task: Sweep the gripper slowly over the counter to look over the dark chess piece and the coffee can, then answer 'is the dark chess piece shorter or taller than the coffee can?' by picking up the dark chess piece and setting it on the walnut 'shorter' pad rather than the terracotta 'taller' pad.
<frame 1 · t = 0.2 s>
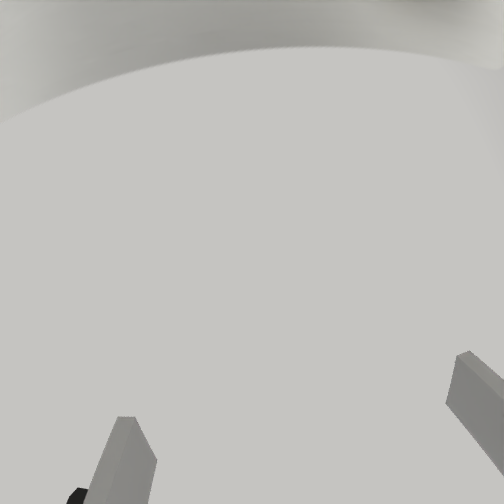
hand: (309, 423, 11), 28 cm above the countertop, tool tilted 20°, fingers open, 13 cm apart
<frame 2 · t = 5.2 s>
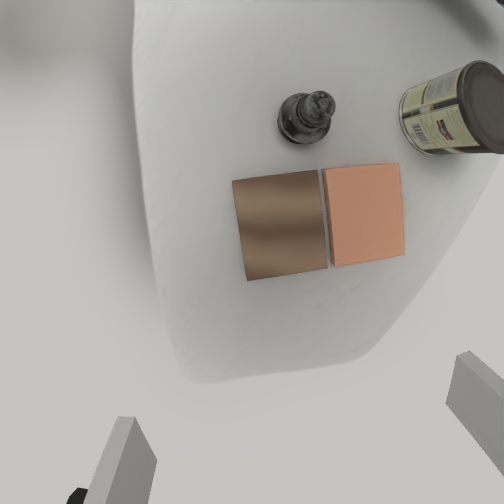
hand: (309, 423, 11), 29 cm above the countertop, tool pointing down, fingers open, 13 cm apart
dark chess piece: (298, 123, 36), on the countertop
shorter pad: (280, 224, 38), on the countertop
coffee can: (427, 119, 36), on the countertop
taller pad: (364, 212, 38), on the countertop
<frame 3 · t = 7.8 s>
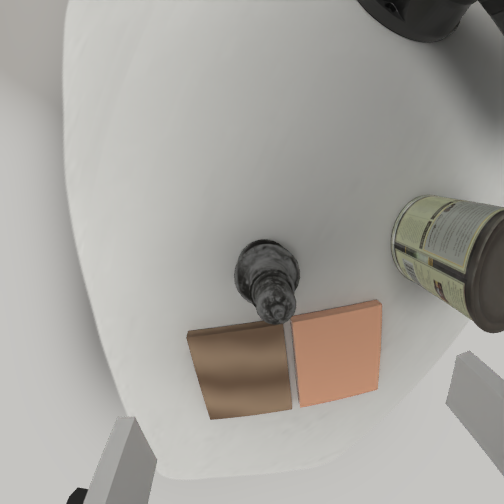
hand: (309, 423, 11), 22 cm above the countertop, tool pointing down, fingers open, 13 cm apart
dark chess piece: (263, 265, 32), on the countertop
shorter pad: (242, 370, 34), on the countertop
coffee can: (426, 238, 32), on the countertop
taller pad: (336, 353, 34), on the countertop
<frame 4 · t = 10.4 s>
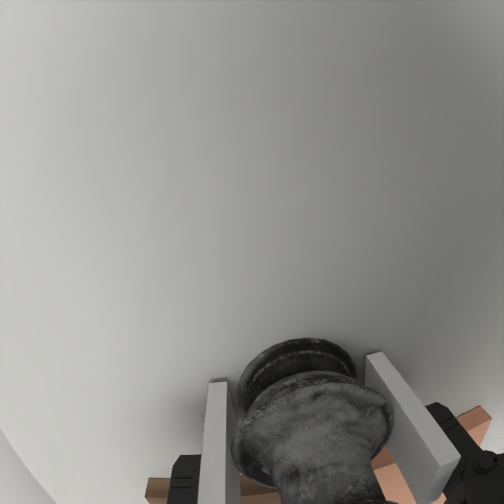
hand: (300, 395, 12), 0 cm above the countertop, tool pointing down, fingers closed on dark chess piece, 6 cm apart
dark chess piece: (298, 387, 13), on the countertop, touching gripper
taller pad: (402, 483, 16), on the countertop
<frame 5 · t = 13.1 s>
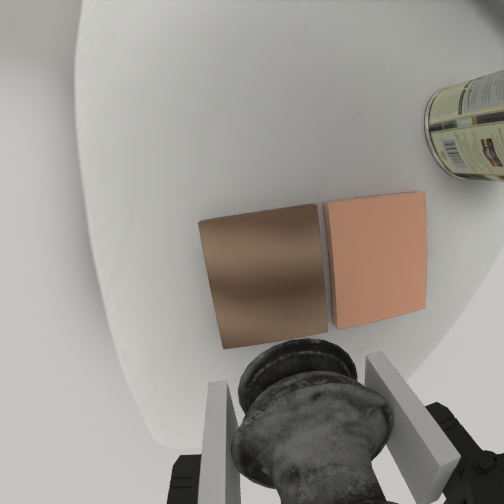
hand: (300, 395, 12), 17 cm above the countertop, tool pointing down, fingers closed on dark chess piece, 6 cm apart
dark chess piece: (298, 387, 13), point 16 cm above the countertop, touching gripper
shorter pad: (266, 276, 29), on the countertop
coffee can: (458, 132, 27), on the countertop
taller pad: (377, 257, 29), on the countertop
when the fingers open (3 cm above the countertop, at t = 15.9 s): dark chess piece drops 1 cm, resting on shorter pad.
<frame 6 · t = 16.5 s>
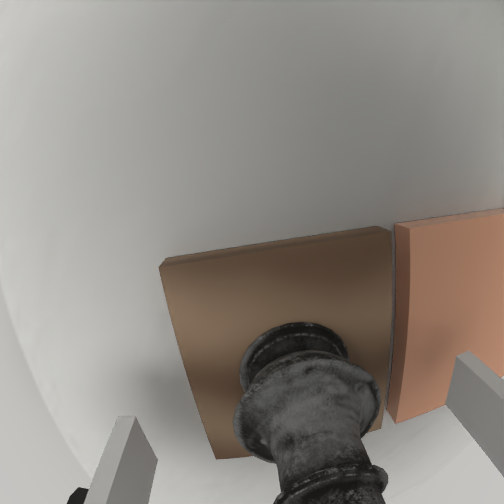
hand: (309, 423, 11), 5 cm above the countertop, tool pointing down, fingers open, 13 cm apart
dark chess piece: (294, 368, 14), point 1 cm above the countertop, touching shorter pad
shorter pad: (288, 355, 16), on the countertop
taller pad: (461, 311, 16), on the countertop
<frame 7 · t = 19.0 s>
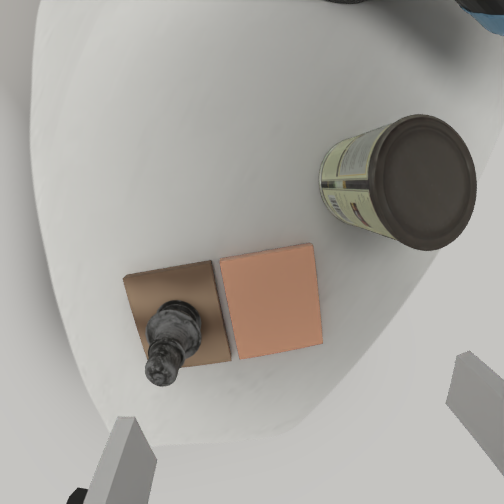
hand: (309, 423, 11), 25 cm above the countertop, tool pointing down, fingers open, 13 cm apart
dark chess piece: (178, 321, 34), point 1 cm above the countertop, touching shorter pad
shorter pad: (179, 316, 36), on the countertop
coffee can: (359, 181, 34), on the countertop
taller pad: (273, 301, 36), on the countertop
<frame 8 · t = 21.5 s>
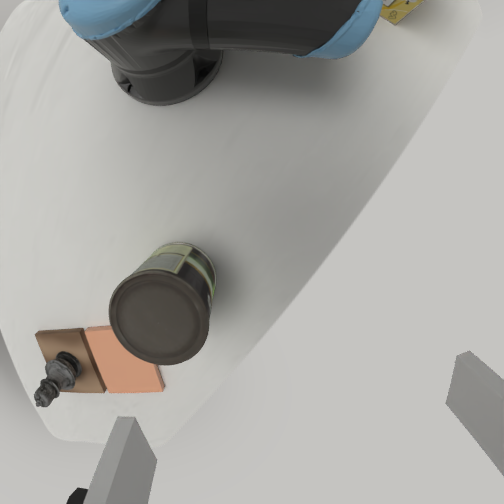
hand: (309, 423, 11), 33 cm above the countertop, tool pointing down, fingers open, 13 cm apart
dark chess piece: (69, 363, 44), point 1 cm above the countertop, touching shorter pad
shorter pad: (71, 360, 45), on the countertop
coffee can: (179, 277, 43), on the countertop
taller pad: (125, 358, 45), on the countertop
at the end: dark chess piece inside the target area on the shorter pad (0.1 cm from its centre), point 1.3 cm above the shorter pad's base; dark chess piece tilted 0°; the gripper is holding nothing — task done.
